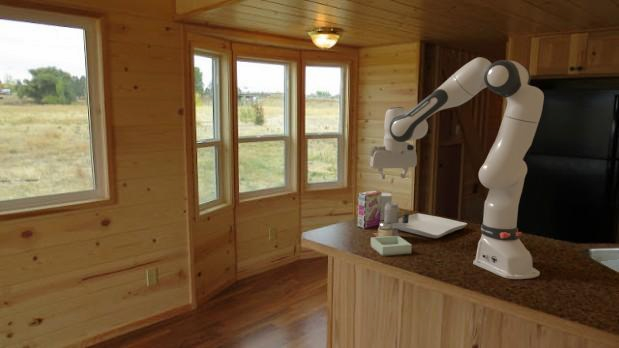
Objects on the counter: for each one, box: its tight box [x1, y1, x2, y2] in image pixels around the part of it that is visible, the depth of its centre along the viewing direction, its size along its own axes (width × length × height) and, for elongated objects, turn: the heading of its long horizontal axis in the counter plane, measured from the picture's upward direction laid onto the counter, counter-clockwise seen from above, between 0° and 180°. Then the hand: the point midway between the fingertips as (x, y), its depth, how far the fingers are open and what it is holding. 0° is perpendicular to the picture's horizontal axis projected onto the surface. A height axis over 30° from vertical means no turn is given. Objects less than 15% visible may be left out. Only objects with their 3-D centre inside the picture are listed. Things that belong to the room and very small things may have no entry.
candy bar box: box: [356, 190, 382, 230], centre depth 201 cm, size 11×5×16 cm, turn 130°
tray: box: [370, 235, 412, 257], centre depth 169 cm, size 12×12×4 cm
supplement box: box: [380, 192, 393, 221], centre depth 214 cm, size 7×7×13 cm
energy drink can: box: [383, 201, 400, 236], centre depth 184 cm, size 6×6×15 cm
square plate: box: [398, 212, 468, 239], centre depth 197 cm, size 27×27×4 cm
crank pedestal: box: [372, 227, 393, 237], centre depth 183 cm, size 14×6×6 cm, turn 14°
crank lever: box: [378, 212, 410, 230], centre depth 179 cm, size 13×5×6 cm, turn 102°
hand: (392, 178), depth 181 cm, fingers open, 8 cm apart
